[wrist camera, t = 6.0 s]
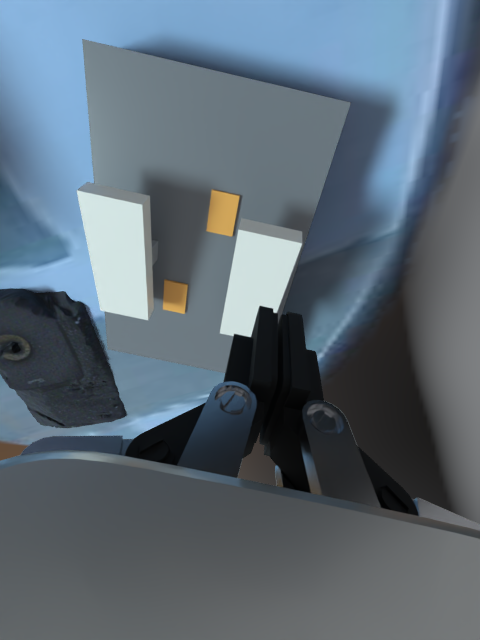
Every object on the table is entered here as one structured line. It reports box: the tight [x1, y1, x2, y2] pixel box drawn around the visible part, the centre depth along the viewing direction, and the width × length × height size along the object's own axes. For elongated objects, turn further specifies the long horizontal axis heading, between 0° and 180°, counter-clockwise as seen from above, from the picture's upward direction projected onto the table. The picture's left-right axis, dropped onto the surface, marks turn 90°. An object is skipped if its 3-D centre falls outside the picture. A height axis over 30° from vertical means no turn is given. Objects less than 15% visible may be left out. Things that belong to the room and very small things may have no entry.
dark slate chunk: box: [0, 289, 126, 428], centre depth 38 cm, size 15×22×5 cm
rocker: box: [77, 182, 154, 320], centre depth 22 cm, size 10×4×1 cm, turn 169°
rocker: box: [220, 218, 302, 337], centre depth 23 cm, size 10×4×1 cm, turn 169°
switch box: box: [82, 39, 351, 373], centre depth 26 cm, size 24×16×6 cm, turn 169°
